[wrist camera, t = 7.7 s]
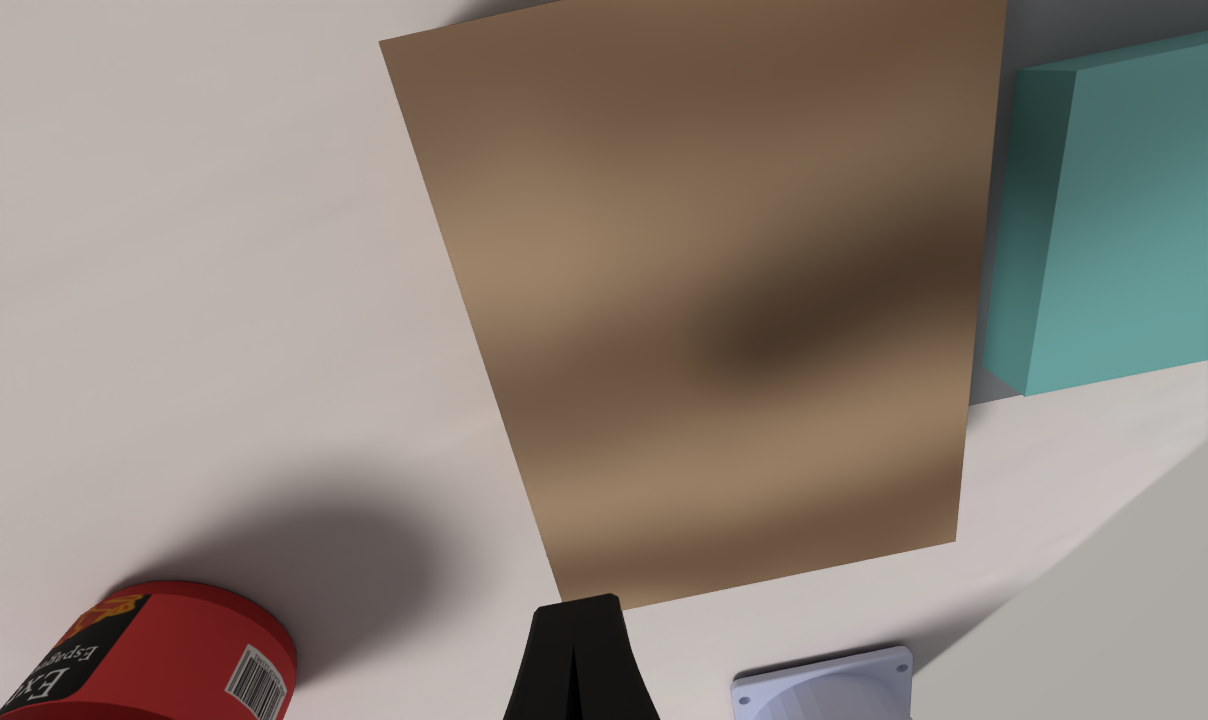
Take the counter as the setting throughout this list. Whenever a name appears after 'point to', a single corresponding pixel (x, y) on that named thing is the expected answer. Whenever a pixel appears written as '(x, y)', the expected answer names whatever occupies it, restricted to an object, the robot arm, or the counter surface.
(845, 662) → the robot arm
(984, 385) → the mat
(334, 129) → the counter surface
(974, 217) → the board
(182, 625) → the canned food
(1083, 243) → the teal rectangular block
